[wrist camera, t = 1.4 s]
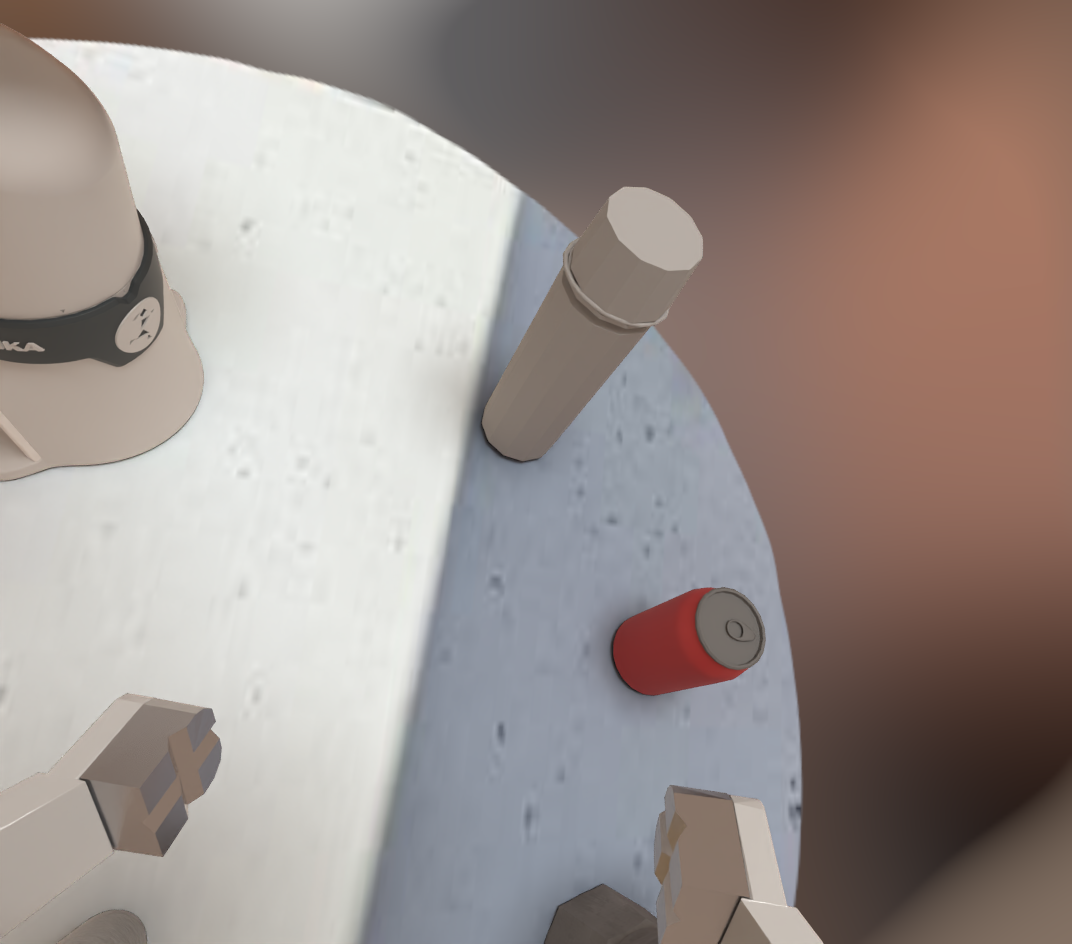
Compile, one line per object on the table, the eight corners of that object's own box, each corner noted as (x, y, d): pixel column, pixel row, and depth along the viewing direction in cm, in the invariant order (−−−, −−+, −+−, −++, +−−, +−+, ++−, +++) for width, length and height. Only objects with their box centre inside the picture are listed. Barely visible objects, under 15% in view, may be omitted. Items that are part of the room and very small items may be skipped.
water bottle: (538, 481, 55) (696, 301, 34) (462, 437, 54) (575, 225, 33) (572, 409, 60) (729, 213, 39) (503, 368, 59) (625, 144, 38)
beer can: (673, 706, 50) (770, 690, 40) (603, 682, 49) (685, 659, 39) (682, 630, 54) (774, 598, 44) (616, 605, 52) (696, 566, 42)
